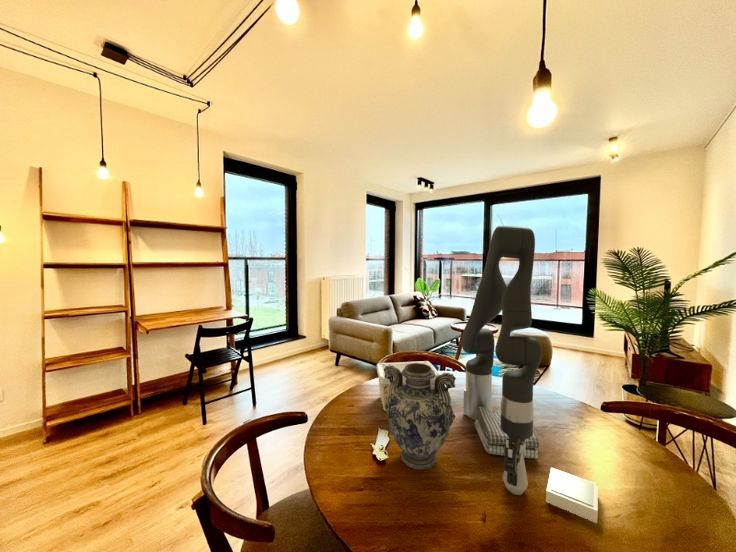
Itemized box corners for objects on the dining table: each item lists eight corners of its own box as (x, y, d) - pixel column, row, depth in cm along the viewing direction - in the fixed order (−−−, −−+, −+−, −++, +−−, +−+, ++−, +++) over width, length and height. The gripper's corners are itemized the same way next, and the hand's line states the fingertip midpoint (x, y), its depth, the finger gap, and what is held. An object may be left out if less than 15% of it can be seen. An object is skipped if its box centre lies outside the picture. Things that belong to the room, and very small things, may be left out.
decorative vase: (457, 445, 96) (457, 360, 94) (453, 488, 78) (453, 385, 76) (392, 433, 103) (390, 354, 101) (375, 471, 85) (373, 376, 83)
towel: (487, 458, 90) (487, 433, 90) (473, 424, 108) (473, 403, 108) (540, 462, 88) (541, 436, 88) (517, 426, 107) (518, 405, 106)
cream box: (380, 414, 116) (380, 377, 115) (376, 395, 132) (375, 362, 131) (441, 411, 118) (441, 374, 117) (429, 392, 134) (429, 360, 133)
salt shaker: (530, 499, 75) (532, 449, 74) (506, 496, 76) (507, 446, 75) (523, 482, 80) (524, 435, 79) (500, 479, 81) (501, 433, 81)
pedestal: (546, 502, 74) (546, 489, 74) (550, 477, 82) (551, 466, 81) (597, 523, 68) (597, 510, 67) (597, 495, 76) (597, 483, 75)
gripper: (507, 398, 85) (506, 454, 86) (493, 421, 73) (492, 485, 74) (537, 406, 80) (536, 465, 81) (528, 431, 69) (526, 500, 70)
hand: (515, 474), depth 78 cm, fingers open, 7 cm apart
